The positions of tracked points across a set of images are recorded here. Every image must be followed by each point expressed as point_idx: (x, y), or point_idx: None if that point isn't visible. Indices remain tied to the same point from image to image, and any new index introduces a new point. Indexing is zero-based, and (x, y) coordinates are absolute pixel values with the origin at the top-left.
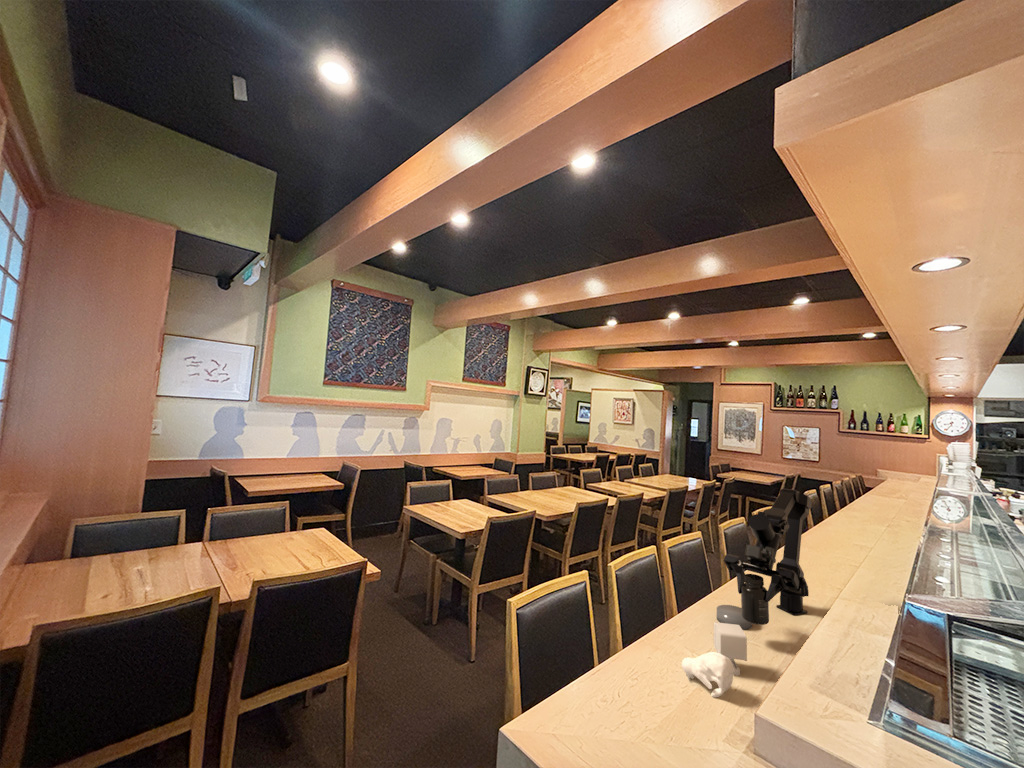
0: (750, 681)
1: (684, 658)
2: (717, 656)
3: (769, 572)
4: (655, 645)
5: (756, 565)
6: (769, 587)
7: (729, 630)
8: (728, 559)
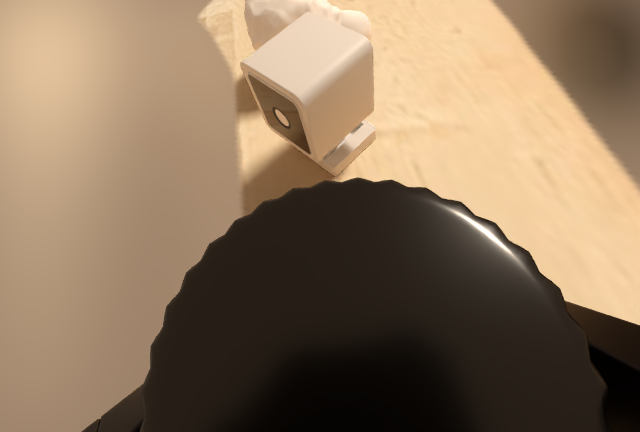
0: (268, 149)
1: (364, 14)
2: None
3: None
4: (504, 68)
5: None
6: (127, 430)
7: (293, 38)
8: None
